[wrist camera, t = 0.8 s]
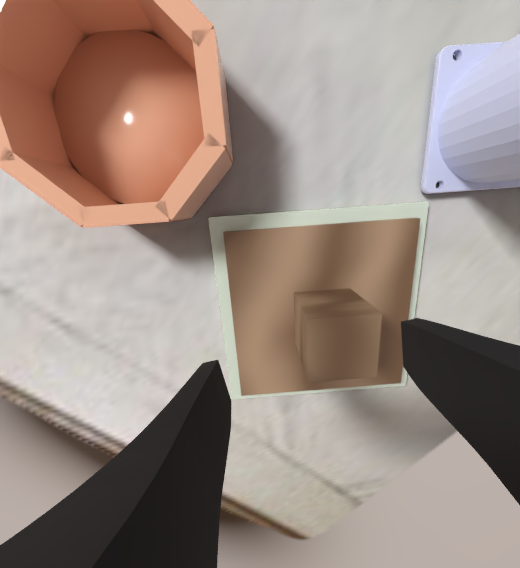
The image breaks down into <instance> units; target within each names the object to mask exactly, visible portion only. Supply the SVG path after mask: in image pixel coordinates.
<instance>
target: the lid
mask: <svg viewBox="0 0 520 568" xmlns="http://www.w3.org/2000/svg"><path fill="white" fill-rule="evenodd" d="M419 226H420V218H402V219H388V220H375V221H361V222H347V223H334V224H320V225H306V226H293V227H279V228H265V229H252V230H238V231H224V232H223V236H224V245H225V254H226V263H227V272H228V281H229V290H230V299H231V308H232V317H233V326H234V335H235V344H236V353H237V362H238V370H239V379H240V388H241V396H246V395H258V394H271V393H283V392H296V391H309V390H321V389H334V388H346V387H359V386H372V385H384V384H397V383H401V377H402V369H403V353H402V334H401V321H406V320H408V318H409V310H410V302H411V293H412V285H413V276H414V268H415V260H416V251H417V243H418V234H419Z"/></svg>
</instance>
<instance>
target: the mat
mask: <svg viewBox="0 0 520 568" xmlns="http://www.w3.org/2000/svg"><path fill="white" fill-rule="evenodd" d="M428 206H429V201H427V202H412V203H399V204H385V205H371V206H357V207H343V208H330V209H316V210H302V211H288V212H275V213H261V214H247V215H233V216H219V217H208V222H209V230H210V238H211V245H212V253H213V261H214V269H215V277H216V285H217V293H218V301H219V308H220V316H221V324H222V332H223V340H224V348H225V356H226V364H227V371H228V379H229V387H230V395H231V400H232V399H244V398H257V397H270V396H282V395H295V394H307V393H320V392H332V391H345V390H358V389H370V388H383V387H395V386H406V380H407V371H406V370H405V368H404V367H403V369H402V377H401V383H397V384H384V385H372V386H359V387H346V388H334V389H321V390H309V391H296V392H283V393H271V394H258V395H246V396H241V388H240V379H239V370H238V362H237V353H236V344H235V335H234V326H233V317H232V308H231V299H230V290H229V281H228V272H227V263H226V254H225V245H224V236H223V232H224V231H238V230H252V229H265V228H279V227H293V226H306V225H320V224H334V223H347V222H361V221H375V220H388V219H402V218H420V226H419V234H418V243H417V251H416V260H415V268H414V276H413V285H412V293H411V302H410V310H409V318H408V320H410V319H414V317H415V309H416V301H417V293H418V285H419V277H420V269H421V261H422V253H423V246H424V238H425V230H426V222H427V214H428Z"/></svg>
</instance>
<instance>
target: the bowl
mask: <svg viewBox="0 0 520 568" xmlns="http://www.w3.org/2000/svg"><path fill="white" fill-rule="evenodd" d="M232 163H233V155H232V144H231V133H230V122H229V111H228V100H227V90H226V81H225V76H224V71H223V66H222V61H221V56H220V52H219V47H218V42H217V37H216V32H215V29H214V27H213V24H212V23H211V22H210V21H209V20H208V19H207V18H206V17H205V16H204V15H203V14H202V13H201V12H200V11H199V10H198V8H197V7H196V6H195V5H194V4H193V3H192V2H191V1H190V0H0V168H1V169H3V170H4V171H5V172H7V173H8V174H9V175H11V176H12V177H14V178H15V179H16V180H18V181H19V182H20V183H22V184H23V185H24V186H26V187H27V188H28V189H30V190H31V191H32V192H34V193H35V194H37V195H38V196H39V197H41V198H42V199H43V200H45V201H46V202H47V203H49V204H50V205H51V206H53V207H54V208H56V209H57V210H58V211H60V212H61V213H62V214H64V215H65V216H66V217H68V218H69V219H70V220H72V221H73V222H75V223H76V224H77V225H79V226H80V227H83V228H88V227H101V226H115V225H129V224H143V223H156V222H170V221H177V220H184V219H190V218H192V217H193V216H194V215H195V213H196V212H197V211H198V209H199V208H200V207H201V206H202V204H203V203H204V202H205V200H206V199H207V198H208V196H209V195H210V194H211V193H212V191H213V190H214V189H215V187H216V186H217V185H218V183H219V182H220V181H221V180H222V178H223V177H224V176H225V174H226V173H227V172H228V170H229V169H230V168H231V167H232Z"/></svg>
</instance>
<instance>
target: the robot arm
mask: <svg viewBox="0 0 520 568" xmlns="http://www.w3.org/2000/svg"><path fill="white" fill-rule="evenodd" d="M453 54H455V55H456V61H455V60H454V59H453ZM437 182H438V183H439V187H438V188H436V183H437ZM515 187H520V34H518V35H517V36H515V37H514V38H512V39H511V40H509V41H508V42H495V43H480V44H465V45H450V46H446V47H445V48H444V49H442V50H441V51H440V52H439V53H438V55H437V57H436V62H435V71H434V79H433V88H432V97H431V105H430V114H429V123H428V131H427V140H426V149H425V157H424V166H423V175H422V183H421V190H422V192H423V193H425V194H432V193H446V192H459V191H473V190H487V189H501V188H515ZM401 334H402V353H403V367H404V368H405V370H406V371H407V373H408V374H409V375H410V377H411V378H412V380H413V381H414V382H415V384H416V385H417V386H418V388H419V389H420V390H421V392H422V393H423V394H424V395H425V396H426V397H427V398H428V399H429V400H430V401H431V403H432V404H433V405H434V406H435V407H436V408H437V409H438V410H439V411H440V412H441V413H442V415H443V416H444V417H445V418H446V419H447V420H448V421H449V422H450V423H451V424H452V425H453V426H454V427H455V429H456V430H457V431H458V432H459V433H460V434H461V435H462V436H463V437H464V438H465V439H466V440H467V441H468V443H469V444H470V445H471V446H472V447H473V448H474V449H475V450H476V451H477V453H478V454H479V455H480V456H481V457H482V458H483V459H484V461H485V462H486V463H487V464H488V465H489V467H490V468H491V469H492V470H493V472H494V473H495V474H496V475H497V477H498V478H499V479H500V480H501V482H502V483H503V484H504V486H505V487H506V488H507V489H508V491H509V492H510V493H511V494H512V496H513V497H514V498H515V500H516V501H517V502H518V503H519V505H520V346H519V345H515V344H511V343H506V342H503V341H499V340H495V339H492V338H488V337H484V336H481V335H477V334H474V333H470V332H467V331H463V330H460V329H456V328H453V327H450V326H446V325H443V324H439V323H435V322H432V321H428V320H424V319H419V318H415V319H410V320H406V321H401ZM230 430H231V399H230V396H229V393H228V389H227V386H226V383H225V380H224V377H223V374H222V371H221V367H220V364H219V361H218V360H215V361H210V362H206V363H203V364H202V365H201V366H200V367H199V368H198V369H197V370H196V372H195V373H194V374H193V375H192V376H191V378H190V379H189V380H188V381H187V382H186V384H185V385H184V386H183V387H182V388H181V390H180V391H179V392H178V393H177V394H176V395H175V397H174V398H173V399H172V400H171V401H170V402H169V403H168V404H167V406H166V407H165V408H164V409H163V410H162V411H161V412H160V413H159V414H158V415H157V416H156V417H155V419H154V420H153V421H152V422H151V423H150V424H149V425H148V426H147V427H146V428H145V429H144V430H143V431H142V432H141V433H140V434H139V435H138V436H137V437H136V438H135V439H134V440H133V441H132V442H131V443H129V444H128V445H127V446H126V447H125V448H124V449H123V450H122V451H121V452H120V453H119V454H118V455H116V456H115V457H114V458H113V459H112V460H111V461H110V462H108V463H107V464H106V465H105V466H104V467H102V468H101V469H100V470H99V471H98V472H96V473H95V474H94V475H93V476H92V477H91V478H89V479H88V480H87V481H86V482H85V483H83V484H82V485H81V486H80V487H79V488H77V489H76V490H75V491H74V492H72V493H71V494H70V495H68V496H67V497H66V498H65V499H63V500H62V501H61V502H59V503H58V504H57V505H55V506H54V507H53V508H51V509H50V510H49V511H47V512H46V513H45V514H43V515H42V516H41V517H39V518H38V519H37V520H35V521H34V522H33V523H31V524H30V525H29V526H27V527H26V528H24V529H23V530H21V531H20V532H19V533H17V534H16V535H15V536H13V537H12V538H10V539H9V540H7V541H6V542H4V543H3V544H2V545H0V568H217V554H218V536H219V518H220V506H221V496H222V489H223V482H224V474H225V467H226V460H227V453H228V445H229V438H230Z"/></svg>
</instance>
